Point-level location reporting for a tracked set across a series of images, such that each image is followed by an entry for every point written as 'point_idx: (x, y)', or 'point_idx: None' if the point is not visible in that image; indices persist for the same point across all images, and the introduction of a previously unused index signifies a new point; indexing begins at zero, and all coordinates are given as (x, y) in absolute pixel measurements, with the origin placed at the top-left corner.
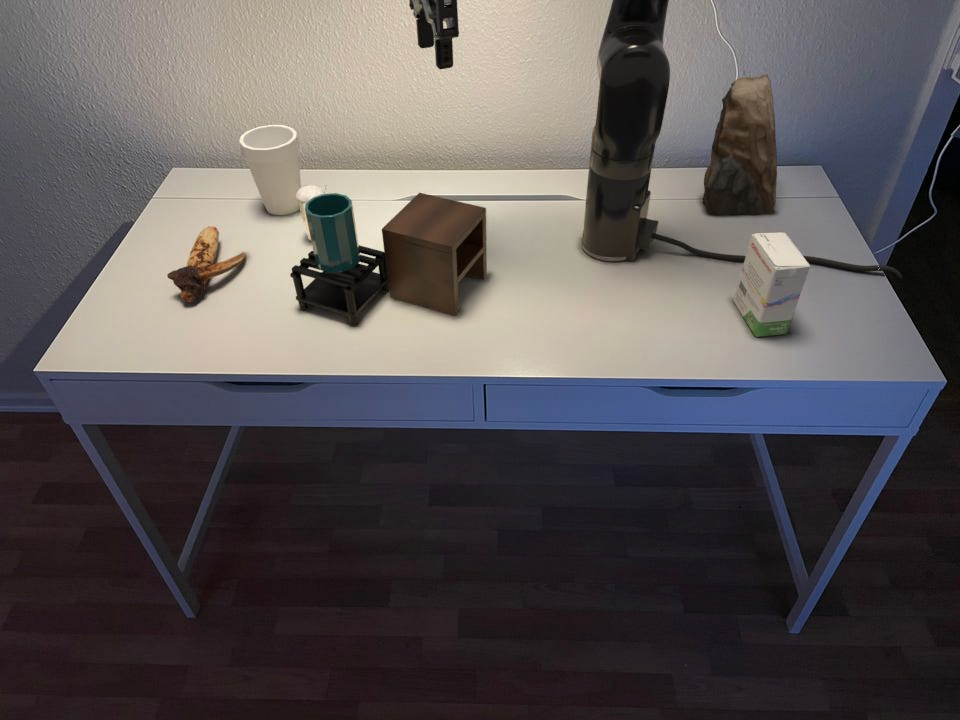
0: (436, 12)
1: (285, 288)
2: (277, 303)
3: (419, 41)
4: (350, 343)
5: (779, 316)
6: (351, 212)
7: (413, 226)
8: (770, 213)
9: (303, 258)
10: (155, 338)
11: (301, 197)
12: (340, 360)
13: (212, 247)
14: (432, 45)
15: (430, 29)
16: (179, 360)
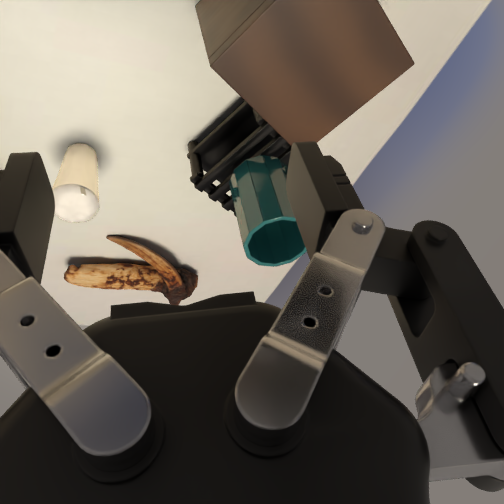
0: (422, 370)
1: (197, 200)
2: (223, 209)
3: (51, 220)
4: (332, 150)
5: None
6: None
7: (321, 108)
8: None
9: (236, 216)
10: (233, 291)
11: (91, 218)
12: (351, 163)
13: (111, 272)
14: (40, 157)
15: (30, 209)
16: (272, 276)
